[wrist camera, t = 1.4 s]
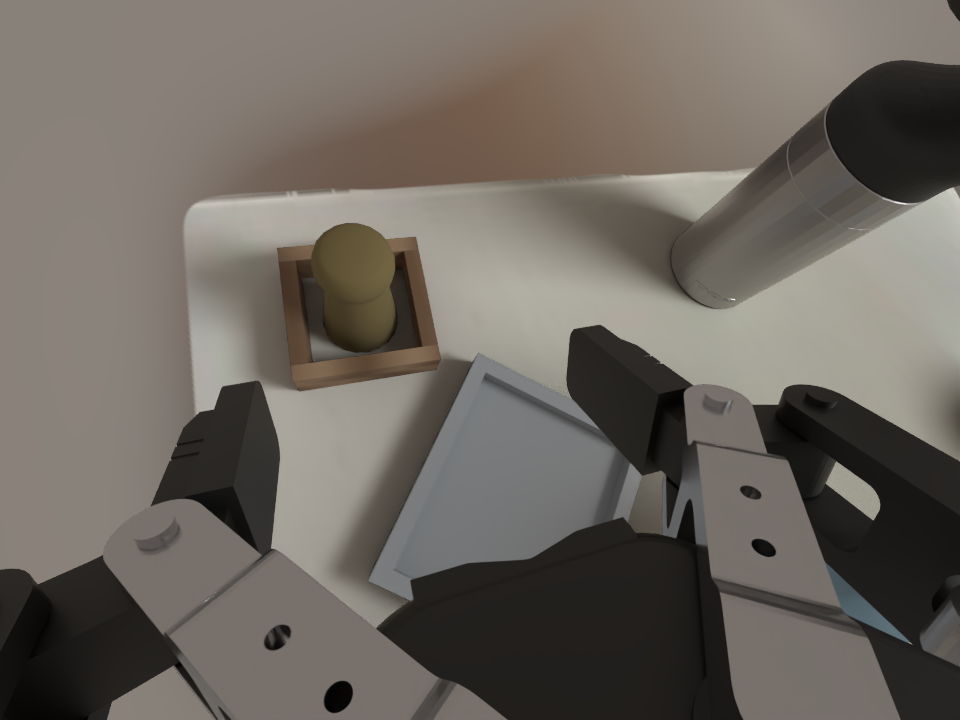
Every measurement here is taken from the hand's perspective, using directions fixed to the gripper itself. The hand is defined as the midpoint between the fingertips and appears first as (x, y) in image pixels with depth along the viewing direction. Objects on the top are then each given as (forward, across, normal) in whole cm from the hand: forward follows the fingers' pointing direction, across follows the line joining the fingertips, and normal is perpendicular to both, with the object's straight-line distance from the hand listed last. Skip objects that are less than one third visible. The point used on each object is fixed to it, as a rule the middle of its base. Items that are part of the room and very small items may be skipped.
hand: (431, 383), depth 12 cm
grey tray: (+14, -8, +21) cm, 27 cm away
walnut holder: (+26, +1, +9) cm, 28 cm away
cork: (+26, +1, +9) cm, 28 cm away
